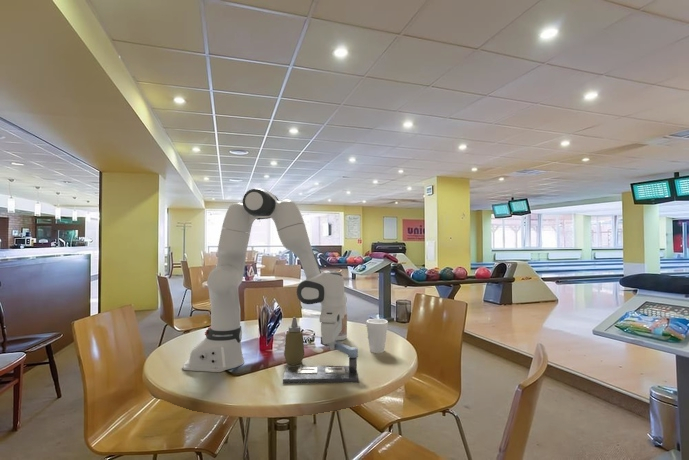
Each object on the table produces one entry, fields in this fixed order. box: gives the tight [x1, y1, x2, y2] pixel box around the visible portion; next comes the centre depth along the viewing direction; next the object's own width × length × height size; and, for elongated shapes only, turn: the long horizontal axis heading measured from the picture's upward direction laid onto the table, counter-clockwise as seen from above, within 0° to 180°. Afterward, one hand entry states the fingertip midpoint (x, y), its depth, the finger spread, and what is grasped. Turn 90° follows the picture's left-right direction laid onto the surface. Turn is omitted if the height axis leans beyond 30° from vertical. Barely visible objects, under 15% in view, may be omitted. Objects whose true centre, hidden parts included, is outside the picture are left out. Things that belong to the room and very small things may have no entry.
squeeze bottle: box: [283, 316, 305, 366], centre depth 144 cm, size 8×8×18 cm
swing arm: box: [320, 336, 359, 358], centre depth 139 cm, size 21×4×3 cm, turn 36°
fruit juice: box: [336, 293, 348, 341], centre depth 179 cm, size 9×9×28 cm
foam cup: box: [365, 318, 389, 354], centre depth 160 cm, size 10×9×13 cm
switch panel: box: [282, 357, 360, 384], centre depth 131 cm, size 26×12×6 cm, turn 93°
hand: (332, 349), depth 138 cm, fingers closed
